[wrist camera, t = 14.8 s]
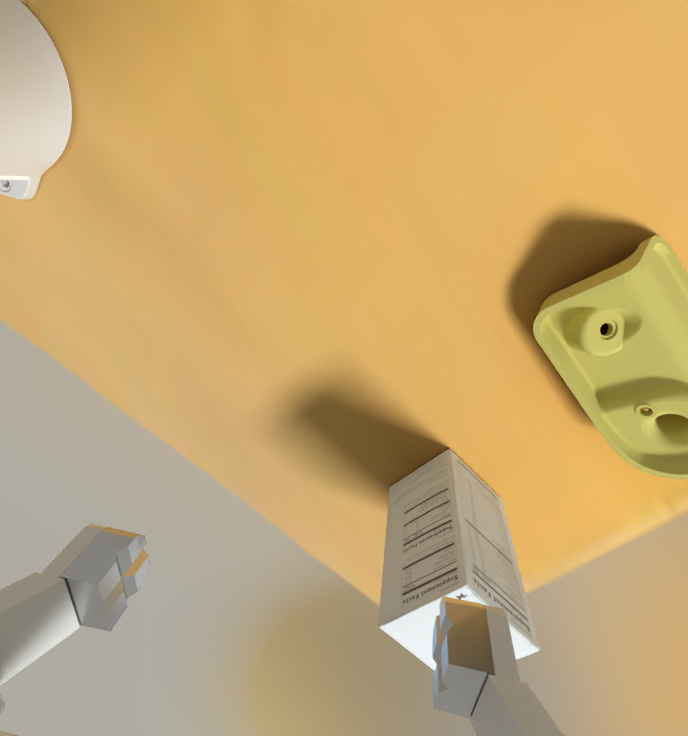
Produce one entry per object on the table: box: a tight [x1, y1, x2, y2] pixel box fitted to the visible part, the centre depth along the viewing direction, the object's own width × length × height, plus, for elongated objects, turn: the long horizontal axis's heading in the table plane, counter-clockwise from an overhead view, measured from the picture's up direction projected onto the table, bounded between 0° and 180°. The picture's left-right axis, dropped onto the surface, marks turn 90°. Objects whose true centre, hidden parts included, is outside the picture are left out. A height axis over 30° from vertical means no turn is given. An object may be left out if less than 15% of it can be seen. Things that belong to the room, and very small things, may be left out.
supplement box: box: [378, 449, 540, 671], centre depth 40 cm, size 10×9×17 cm
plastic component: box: [533, 236, 688, 479], centre depth 36 cm, size 20×7×10 cm
